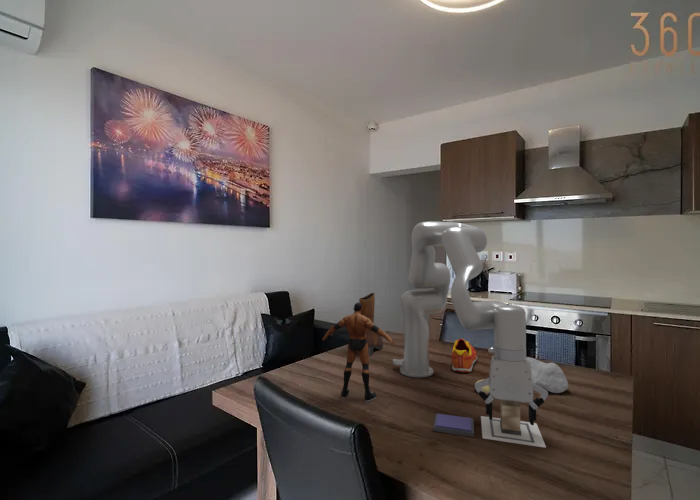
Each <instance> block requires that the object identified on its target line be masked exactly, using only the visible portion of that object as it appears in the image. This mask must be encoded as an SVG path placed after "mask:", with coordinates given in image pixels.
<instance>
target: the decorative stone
mask: <svg viewBox="0 0 700 500" xmlns="http://www.w3.org/2000/svg"><path fill="white" fill-rule="evenodd" d="M526 359H527V360H529V362H530V365H531V371H532V380H533V383H534V384H536V385H538V386H539V387H541V388H543V389H545V390H546V391H547V392H550V393H551V394H552V393H553V394H560V393H564V392H565V391H567V390H568V389H569V381H568V379H567V377H566V375H565V373H564V371H563V370H562V368H561V367H560V366H559V365H558V364H556V363H554V362H548V363H546V362H544V361H541V360H537V359H536V358H533V357H529V356H526Z"/></svg>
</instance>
